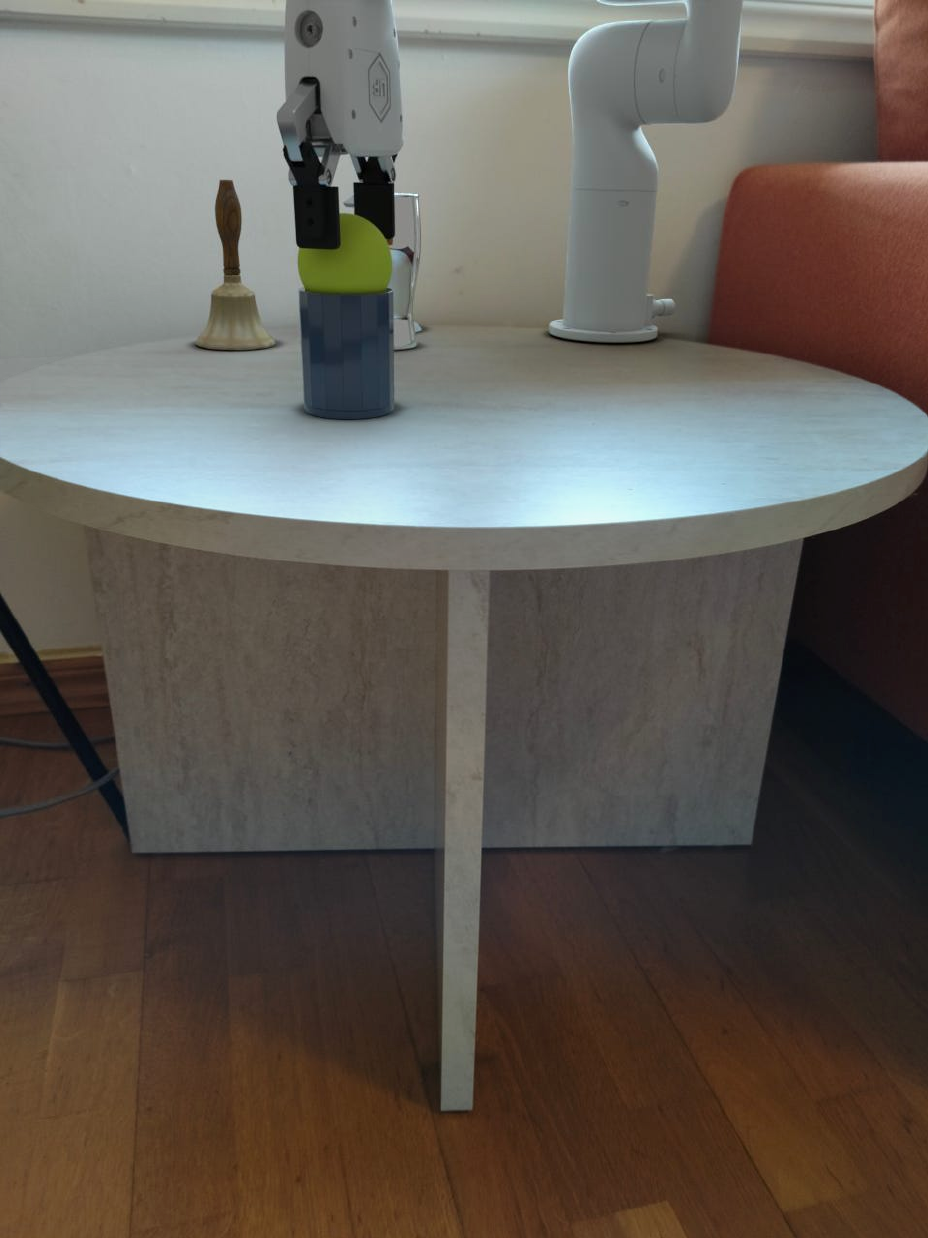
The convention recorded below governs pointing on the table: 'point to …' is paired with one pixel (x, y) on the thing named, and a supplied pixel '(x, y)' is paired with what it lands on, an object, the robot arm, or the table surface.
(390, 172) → the robot arm
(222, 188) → the hand bell
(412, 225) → the beer glass
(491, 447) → the table surface
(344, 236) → the ball
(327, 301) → the cup
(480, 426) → the table surface
